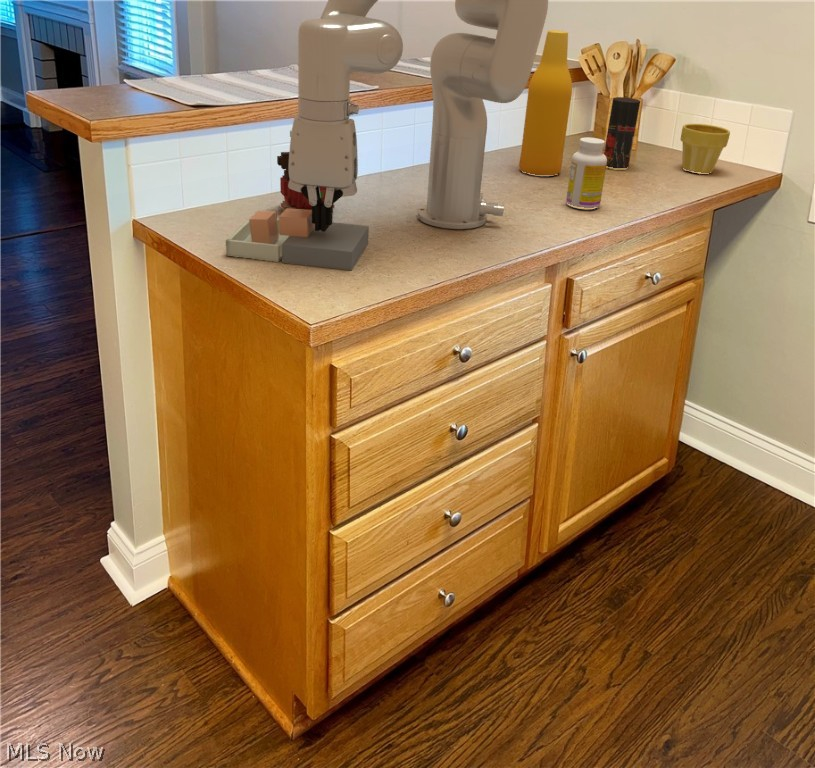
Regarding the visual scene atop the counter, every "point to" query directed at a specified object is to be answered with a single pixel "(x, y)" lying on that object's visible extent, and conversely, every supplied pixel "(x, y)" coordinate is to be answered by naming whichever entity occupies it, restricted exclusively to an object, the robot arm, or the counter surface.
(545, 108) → the beer bottle
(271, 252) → the sage bin
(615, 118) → the deodorant
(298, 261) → the slate board
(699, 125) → the plant pot
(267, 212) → the tile
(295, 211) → the tile
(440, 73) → the robot arm
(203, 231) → the counter surface
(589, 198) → the supplement bottle
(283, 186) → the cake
